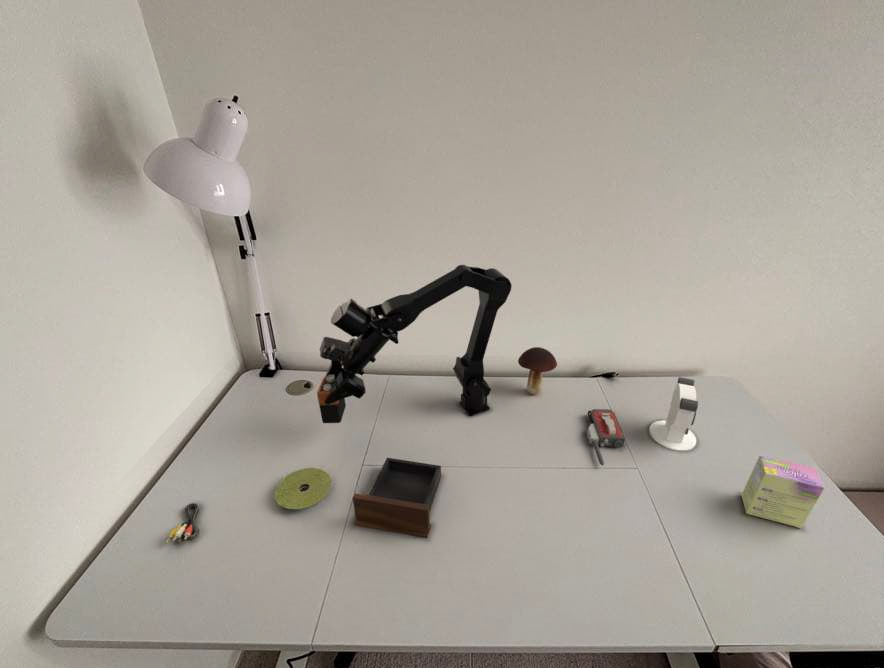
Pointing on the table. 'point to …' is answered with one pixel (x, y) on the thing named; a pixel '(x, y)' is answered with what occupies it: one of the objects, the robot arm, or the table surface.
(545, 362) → the decorative mushroom
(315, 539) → the table surface
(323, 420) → the battery
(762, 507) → the box
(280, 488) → the mat
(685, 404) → the white upright stand
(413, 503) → the wooden drawer
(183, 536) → the composite cable
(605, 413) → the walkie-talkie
